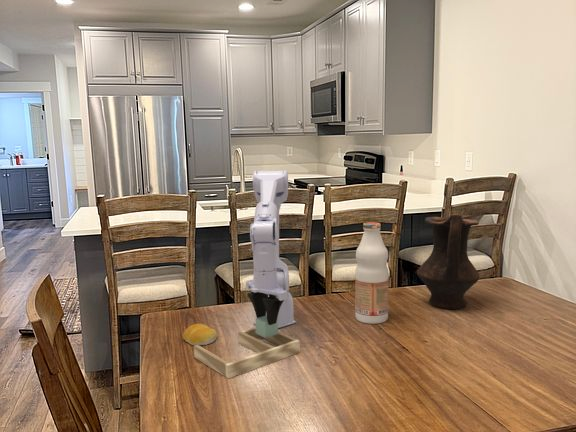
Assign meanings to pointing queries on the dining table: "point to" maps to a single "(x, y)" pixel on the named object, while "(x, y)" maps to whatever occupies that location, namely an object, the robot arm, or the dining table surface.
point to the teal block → (265, 327)
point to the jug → (449, 262)
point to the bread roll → (199, 335)
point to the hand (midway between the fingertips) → (266, 321)
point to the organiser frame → (262, 357)
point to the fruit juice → (371, 277)
